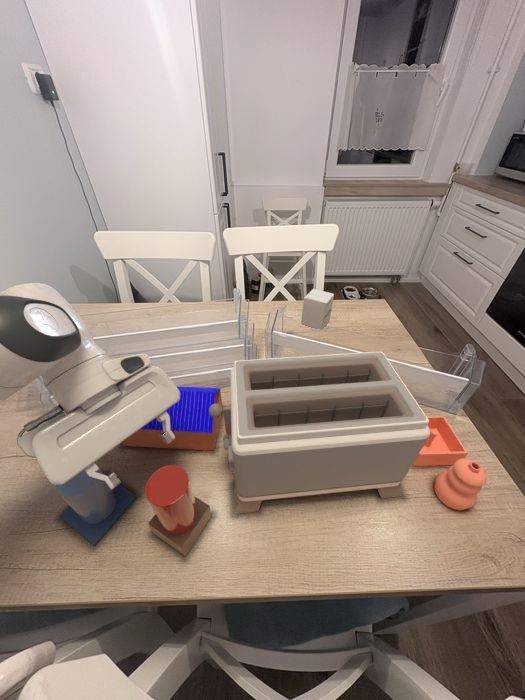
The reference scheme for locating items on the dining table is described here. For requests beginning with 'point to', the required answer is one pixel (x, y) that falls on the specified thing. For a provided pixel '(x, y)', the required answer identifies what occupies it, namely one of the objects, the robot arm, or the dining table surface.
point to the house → (184, 422)
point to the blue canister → (88, 497)
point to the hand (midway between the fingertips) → (145, 462)
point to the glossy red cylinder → (172, 499)
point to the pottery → (462, 476)
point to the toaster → (319, 427)
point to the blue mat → (100, 529)
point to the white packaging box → (317, 309)
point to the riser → (187, 538)
